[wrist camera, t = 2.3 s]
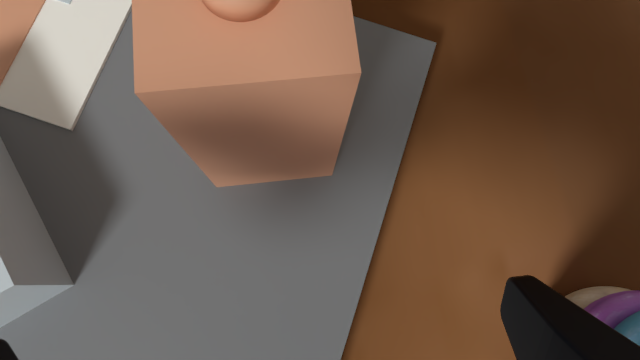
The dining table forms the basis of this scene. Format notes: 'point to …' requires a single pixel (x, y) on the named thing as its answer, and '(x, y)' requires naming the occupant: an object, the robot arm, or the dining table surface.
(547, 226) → the dining table surface
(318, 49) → the pillar block
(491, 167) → the dining table surface
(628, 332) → the stacking toy
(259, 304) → the board
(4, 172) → the base block
